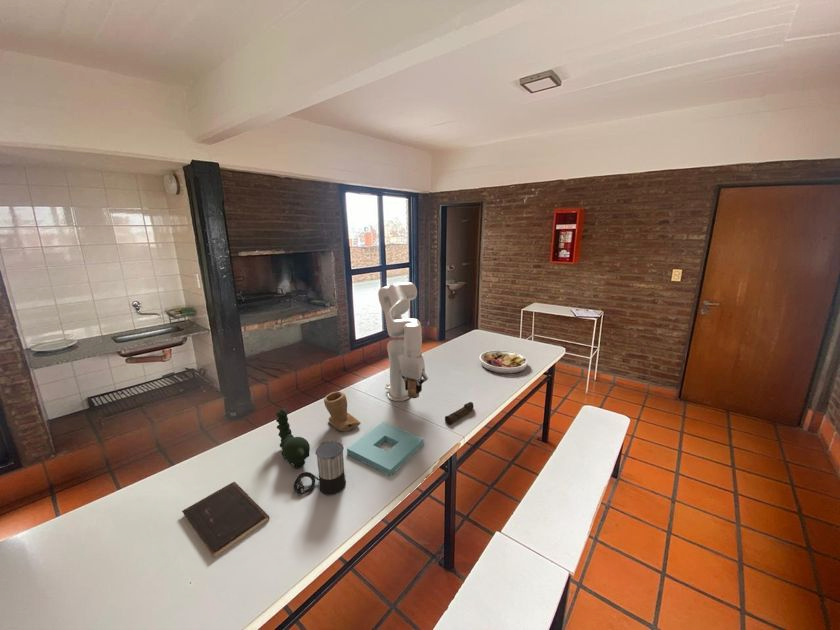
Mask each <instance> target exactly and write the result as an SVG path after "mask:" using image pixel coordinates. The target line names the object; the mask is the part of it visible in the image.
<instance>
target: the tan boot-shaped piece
mask: <svg viewBox="0 0 840 630" xmlns="http://www.w3.org/2000/svg"><path fill="white" fill-rule="evenodd" d="M323 402H324V407H325V408H326V410H327V412H328V413H329V415H330V416H329V417H328V422H329V423H330V424H331V425H332V426H333V427H334V428H336V429H337V430H339V431H341V432H342V431H344V432H346V431H350V430H353V429H355V428H357V427H358V426H360V425H361V422H360V421H359V420H358V419H357V418H356V417H354V416H353V415H351V414H350V413H349V412H348V400H347V396H346V394H345V393H344V392H342V391H333V392H330V393H329V394H327V395H326V396H325V397H324V399H323Z"/></svg>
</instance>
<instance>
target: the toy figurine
mask: <svg viewBox="0 0 840 630" xmlns="http://www.w3.org/2000/svg"><path fill="white" fill-rule="evenodd" d="M275 415H276V416H277V418H276V420H275V421H276V423H278V425H277V426H276V429H277V430H279V432H278V434H277V435H278V437H280V443H279V447H280V448H281V450H282V451H281V455H282V456H283V459H284V461H286V462H288V464H289V465H292V466H293V468H295V469H300V468H303V466H305V463H306V459H307V458H309V457H310V451H311V446H310V443H309V441H308V440H307V439H306V438H304V437H301V436H295V437H294V435H293V434H292V430H291V428H290V427H291V426H290V425H291V424H290V423H289V422H288V421H289V418H288V411H287V408H280V409H279V410H278V412H276V413H275Z"/></svg>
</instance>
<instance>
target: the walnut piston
mask: <svg viewBox="0 0 840 630" xmlns="http://www.w3.org/2000/svg"><path fill="white" fill-rule="evenodd" d="M416 385H417V381H416V380H415V379H411V378H408V397H409V399H418V398H419V397H420V393H418V394H417V393H416Z"/></svg>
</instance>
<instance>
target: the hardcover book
mask: <svg viewBox="0 0 840 630" xmlns="http://www.w3.org/2000/svg"><path fill="white" fill-rule="evenodd" d="M181 512H182V514H183V515H184V516H185V518H186V519H187V520H188V522H189V523H190V525H191V527H192V528H193V529H194V531H195V532H196V533H197V535H198V536H199V538H200V539H201V540H202V541H203V544H205V546H206V547H207V549H208V550H209V552H210V553H211V554H212V556H213V557H214V558H216V557H218V555H220V554H221V553H223V552H225V550H227V549H229V548H230V547H231V546H233V545H234V544H235V543H238V542H239V541H240V540H242V539H243V538H244V537H246V536H247V535H249V534H250V533H251V532H253V531H254V530H255V529H257V528H259V527H260V526H261V525H263V524H264V523H266V522H267V521H269V520H270V515H269V514H267V512H266V511H264V509H262V507H261V506H260V505H259V504H258V503H256V502H255V500H254V499H253V498H252V497H251V496H250V495H249V494H248V493H247V492H246V491H245V490H244V489H243V488H242V487H241V486H240V485H239V484H238V483H237V482H236V481H232V482H231V483H229V484H227V485H226V486H224V487H222V488H220V489H219V490H216V491H215V492H213V493H211V494H209V495H208V496H206V497H205V498H204V497H203V498H202V499H200V500H199V501H197V502H195V503H194V504H192V505H190V506H188V507H187V508H185V509H183V510H182V511H181Z"/></svg>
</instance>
